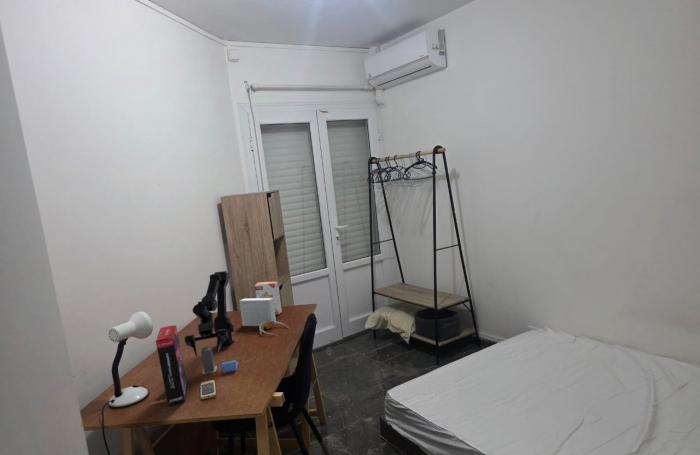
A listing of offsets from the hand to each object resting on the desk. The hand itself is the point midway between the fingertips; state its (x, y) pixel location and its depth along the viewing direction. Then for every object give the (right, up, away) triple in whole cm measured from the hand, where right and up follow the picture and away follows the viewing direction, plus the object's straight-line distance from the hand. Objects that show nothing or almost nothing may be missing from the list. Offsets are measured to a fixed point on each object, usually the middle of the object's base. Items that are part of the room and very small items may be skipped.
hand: (207, 354), depth 184 cm
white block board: (+6, -8, +2) cm, 10 cm away
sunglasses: (+22, -2, +46) cm, 51 cm away
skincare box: (+11, -1, +60) cm, 61 cm away
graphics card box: (-6, -11, -18) cm, 22 cm away
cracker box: (+13, +1, +79) cm, 80 cm away
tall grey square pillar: (+1, -7, +1) cm, 8 cm away
